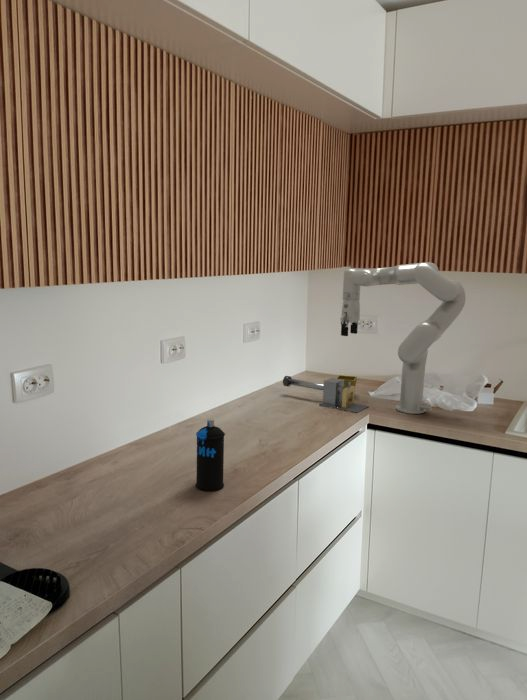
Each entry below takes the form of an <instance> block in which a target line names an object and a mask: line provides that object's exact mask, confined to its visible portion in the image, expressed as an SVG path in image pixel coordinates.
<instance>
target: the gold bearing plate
mask: <svg viewBox="0 0 527 700" xmlns="http://www.w3.org/2000/svg"><path fill="white" fill-rule="evenodd" d="M355 392H356V386H349V387H346V388H344V389H343V390H342V408H344V409H346V408H348V407H350V406H352V405H354V404H355V395H356V394H355Z"/></svg>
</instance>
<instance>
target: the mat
mask: <svg viewBox="0 0 527 700" xmlns="http://www.w3.org/2000/svg"><path fill="white" fill-rule="evenodd" d="M369 407H370V406H369V405H364V404H359V403H354V405H352V406H350V407H348V408H346V409H344V408H340V407H338V408H336V409H335V410H338V409H341V410H340V411H343V410H346V411H345V412H349V411H351V412H350V413H354V412H356V413H355V414H359V413H360V412H363V411H365V410H366V409H368V408H369ZM358 412H359V413H358Z"/></svg>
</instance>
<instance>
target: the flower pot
mask: <svg viewBox="0 0 527 700" xmlns="http://www.w3.org/2000/svg"><path fill="white" fill-rule="evenodd" d="M336 379H343V380H344V388H346V387H347V384H348V382H351V386H355V387H356V384H357V379H358V377H357V376H353V375H340V374H339V375H337V377H336Z"/></svg>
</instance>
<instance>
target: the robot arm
mask: <svg viewBox="0 0 527 700" xmlns="http://www.w3.org/2000/svg"><path fill="white" fill-rule="evenodd" d="M342 284H343V285H342V286H343V287H342V301H343V302H342V306H341V317H340V327H341V328H340V336H342V337H348V336H349V324H350V323H351V324H350V334H353V335H354V334H358V326H359V321H360V319H361V316H360V315H361V308H360V307H361V304H360V298H361V297H360V296H361V287H365V288H366V287H373V286H374V287H375V286H384V285H397V286H403V285H416V284H419V285H420V286H421V287H422V288H423V289H424V290H426V291H427V292H428V293H430V294H431V295H432V296H433V297H435V298H436V299H437V300H439V301H441V304H440V305H439V306H438V307H436V309H435V310H434V312H433V313H432V314H430V316H429V317H428V318H426V320H424V321H421V322H420V323H418V324H417V325H416V326H415V327H414V328H413V329H412V331H411V332H410V333H409V334H408V335H407V336H406V337H405V338H404V340H403V341H402V342H401V343H400V345H399V346H398V349H397V356H398V359H399V360H400V361H401V362H402V368H401V380H400V381H401V382H400V394H399V395H400V397H399V404H397V405H395V409H396V411H398V412H400V413H404V414H411V415H413V414H414V415H416V414H417V415H418V414H424V413H425V412H426V411H427V410H429V411H432V409H433V406H432V405H431V404H428V403H427V404H426V403H425V400H424V399H423V398H424V386H425V377H426V376H425V375H426V374H425V373H426V364H427V359H428V358H427V357H428V351H429V350H428V349H429V348H430V347H431V346H432V345H433V344H434V343H435V342H437V341H439V339H440V338H441V337H442V336H443V334H444V333H445V332H446V331H447V330H448V329H449V327H450V326H451V325H452V324H453V322H454V321H455V320H456V319H457V318H458V316H460V314H461V313H462V311H463V308H464V307H465V303H466V292H465V289H464V286H463V284H462V283H461V282H459V280H456V279H448V278H447V277H445V276H444V275H443V274H442V273H440V272H439V267H438V265H437V264H435V263H433V262H429V261H427V262H426V261H424V262H418V263H408V264H407V263H405V264H397V265H395V266H389V267H378V268H365V269H359V268H345V269H344V270H343V283H342Z"/></svg>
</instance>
